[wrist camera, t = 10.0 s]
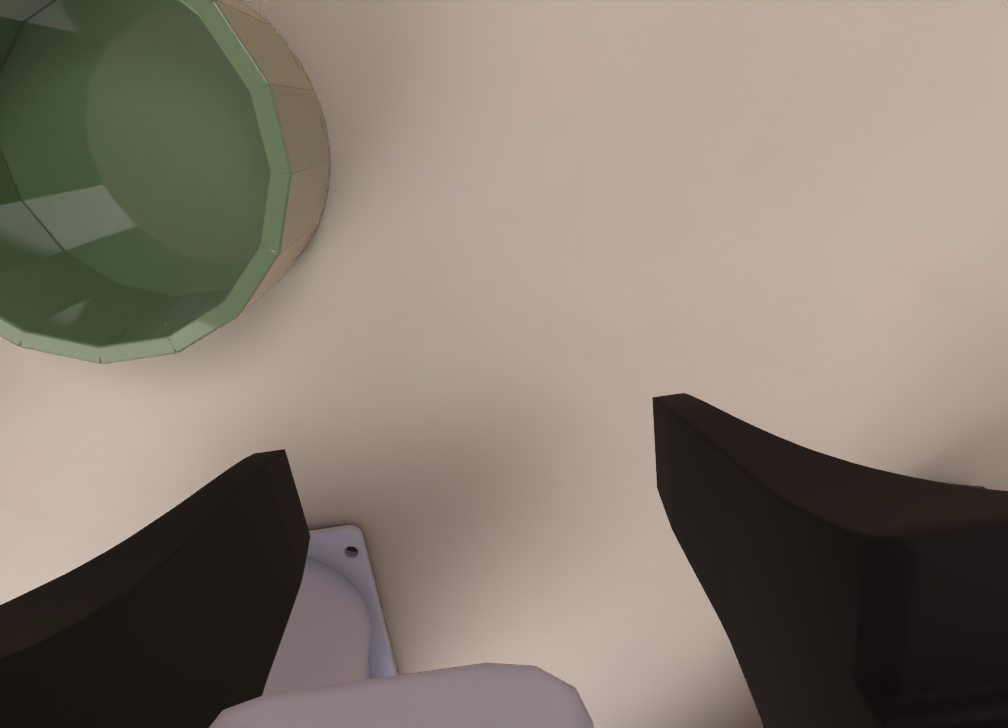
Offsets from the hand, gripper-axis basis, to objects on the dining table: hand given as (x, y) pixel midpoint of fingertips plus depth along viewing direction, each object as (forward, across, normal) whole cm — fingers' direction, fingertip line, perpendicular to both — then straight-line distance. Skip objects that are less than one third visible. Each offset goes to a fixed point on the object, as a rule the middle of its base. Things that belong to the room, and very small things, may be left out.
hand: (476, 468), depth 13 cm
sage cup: (+10, +8, -6) cm, 15 cm away
